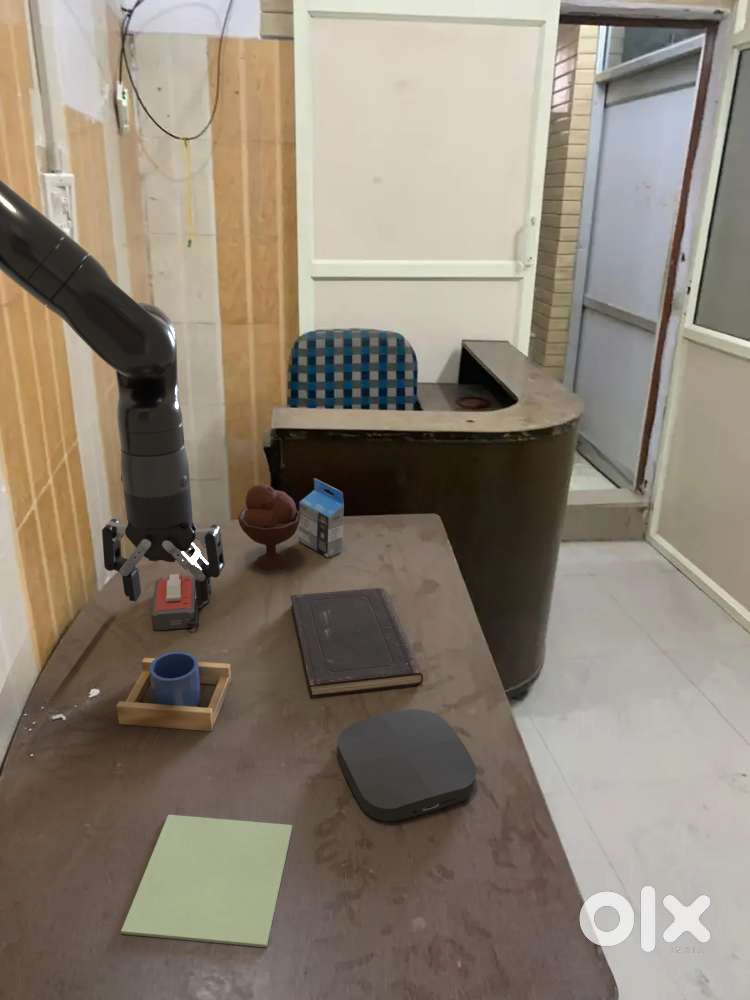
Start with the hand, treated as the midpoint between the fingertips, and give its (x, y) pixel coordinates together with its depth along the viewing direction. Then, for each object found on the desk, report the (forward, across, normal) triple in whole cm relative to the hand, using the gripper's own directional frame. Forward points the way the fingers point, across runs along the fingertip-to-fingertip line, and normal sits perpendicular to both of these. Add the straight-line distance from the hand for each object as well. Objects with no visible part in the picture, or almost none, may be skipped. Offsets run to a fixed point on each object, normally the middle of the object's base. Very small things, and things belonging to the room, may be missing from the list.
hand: (168, 600), depth 95 cm
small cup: (+16, 0, 0) cm, 16 cm away
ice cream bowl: (+17, -4, -39) cm, 43 cm away
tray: (+16, 0, 0) cm, 16 cm away
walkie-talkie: (+16, +7, -25) cm, 31 cm away
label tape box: (+17, -12, -46) cm, 51 cm away
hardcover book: (+17, -22, -16) cm, 32 cm away
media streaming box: (+17, -31, +9) cm, 36 cm away
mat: (+16, -12, +26) cm, 33 cm away
